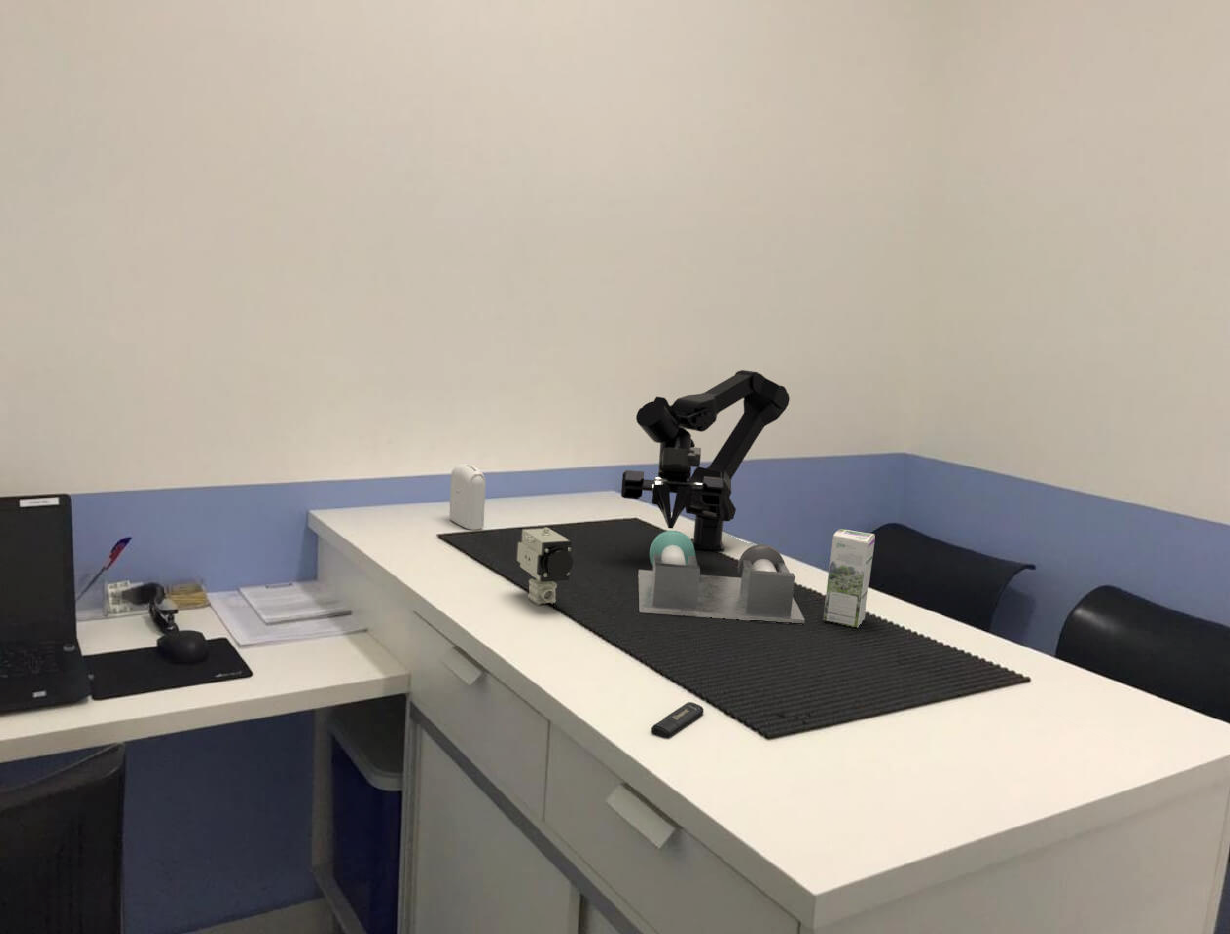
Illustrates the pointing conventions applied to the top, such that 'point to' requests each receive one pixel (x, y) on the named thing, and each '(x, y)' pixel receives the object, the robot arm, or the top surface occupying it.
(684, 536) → the teal knob
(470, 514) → the photo printer
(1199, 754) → the top surface
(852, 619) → the syrup box
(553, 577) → the pneumatic valve
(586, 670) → the top surface
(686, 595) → the mount
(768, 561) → the dark grey rounded piece
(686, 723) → the usb stick
